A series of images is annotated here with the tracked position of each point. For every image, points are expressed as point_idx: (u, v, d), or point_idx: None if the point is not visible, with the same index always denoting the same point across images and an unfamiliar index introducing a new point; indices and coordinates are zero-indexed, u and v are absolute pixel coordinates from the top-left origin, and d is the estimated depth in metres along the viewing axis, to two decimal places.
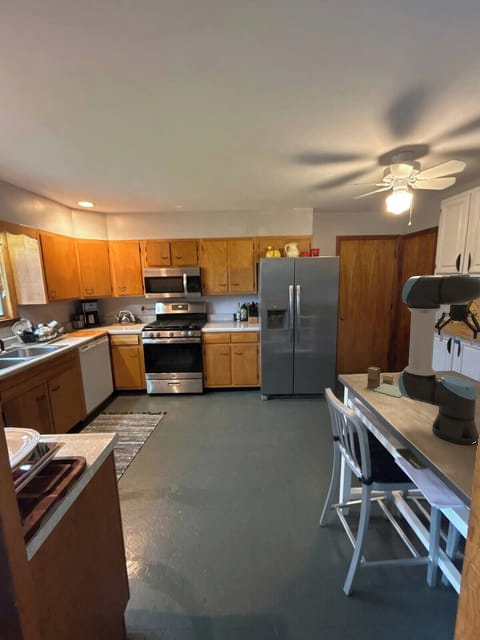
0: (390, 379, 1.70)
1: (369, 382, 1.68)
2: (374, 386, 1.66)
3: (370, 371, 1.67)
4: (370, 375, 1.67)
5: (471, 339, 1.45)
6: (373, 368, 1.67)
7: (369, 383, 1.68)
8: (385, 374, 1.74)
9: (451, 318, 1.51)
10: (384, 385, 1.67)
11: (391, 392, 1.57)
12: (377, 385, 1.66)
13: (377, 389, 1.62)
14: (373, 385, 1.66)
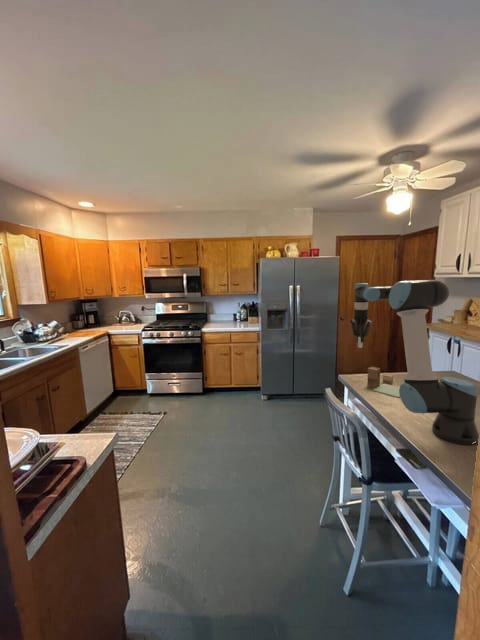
0: (390, 379, 1.70)
1: (369, 382, 1.68)
2: (374, 386, 1.66)
3: (370, 371, 1.67)
4: (370, 375, 1.67)
5: (359, 342, 1.71)
6: (373, 368, 1.67)
7: (369, 383, 1.68)
8: (385, 374, 1.74)
9: (357, 322, 1.70)
10: (384, 385, 1.67)
11: (391, 392, 1.57)
12: (377, 385, 1.66)
13: (377, 389, 1.62)
14: (373, 385, 1.66)
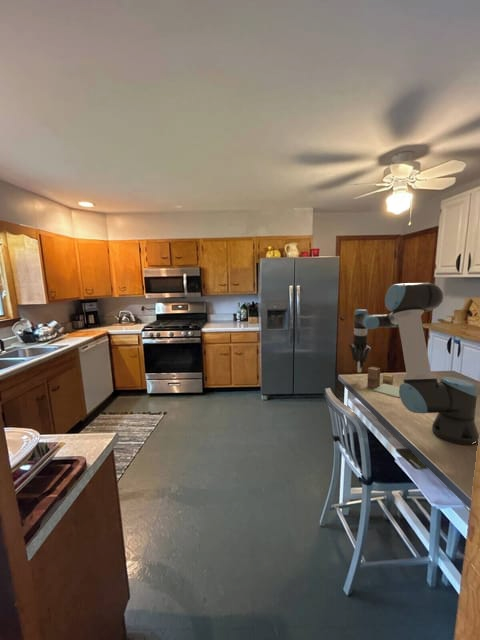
0: (390, 379, 1.70)
1: (369, 382, 1.68)
2: (374, 386, 1.66)
3: (370, 371, 1.67)
4: (370, 375, 1.67)
5: (358, 367, 1.73)
6: (373, 368, 1.67)
7: (369, 383, 1.68)
8: (385, 374, 1.74)
9: (356, 348, 1.73)
10: (384, 385, 1.67)
11: (391, 392, 1.57)
12: (377, 385, 1.66)
13: (377, 389, 1.62)
14: (373, 385, 1.66)
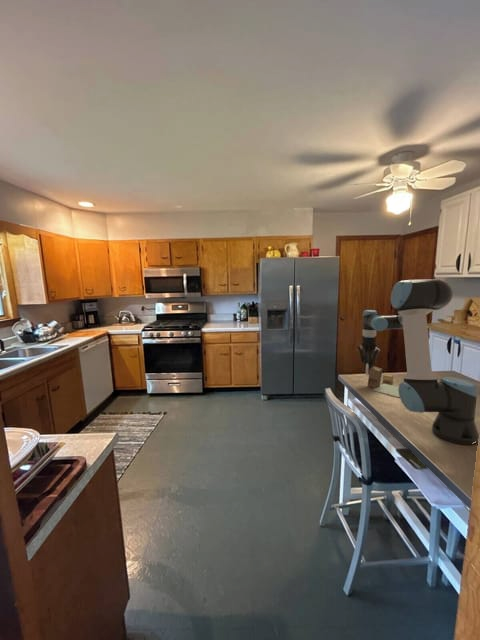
0: (390, 379, 1.70)
1: (369, 381, 1.68)
2: (374, 386, 1.66)
3: (372, 371, 1.66)
4: (371, 375, 1.66)
5: (367, 369, 1.69)
6: (375, 368, 1.66)
7: (369, 382, 1.68)
8: (385, 374, 1.74)
9: (365, 349, 1.68)
10: (384, 385, 1.67)
11: (391, 392, 1.57)
12: (377, 385, 1.66)
13: (377, 389, 1.62)
14: (373, 385, 1.66)
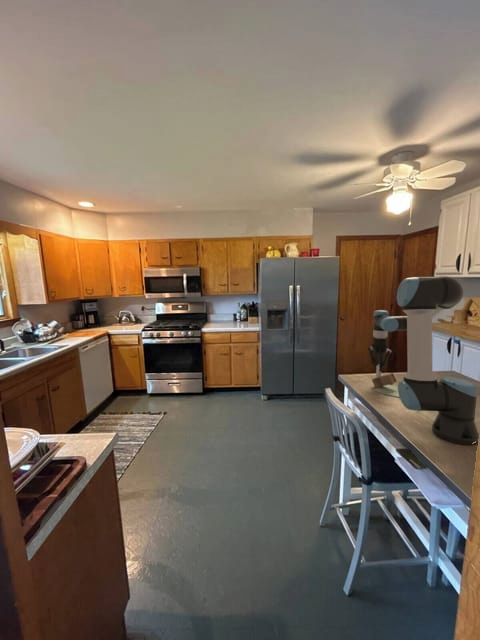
0: None
1: (376, 380, 1.64)
2: (376, 386, 1.65)
3: (387, 377, 1.59)
4: (383, 379, 1.61)
5: (378, 371, 1.64)
6: (392, 378, 1.59)
7: (375, 380, 1.65)
8: (385, 374, 1.74)
9: (376, 351, 1.63)
10: None
11: (391, 392, 1.57)
12: (378, 386, 1.66)
13: (377, 389, 1.62)
14: (376, 385, 1.65)
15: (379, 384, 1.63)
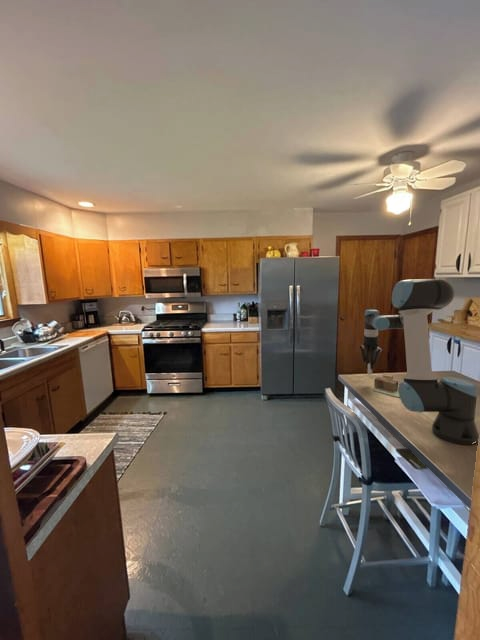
0: (390, 379, 1.70)
1: (378, 381, 1.63)
2: (375, 386, 1.65)
3: (391, 385, 1.58)
4: (386, 384, 1.60)
5: (369, 369, 1.69)
6: (395, 386, 1.58)
7: (377, 381, 1.64)
8: (385, 374, 1.74)
9: (367, 349, 1.68)
10: None
11: (391, 392, 1.57)
12: None
13: (377, 389, 1.62)
14: (376, 385, 1.65)
15: (380, 386, 1.63)
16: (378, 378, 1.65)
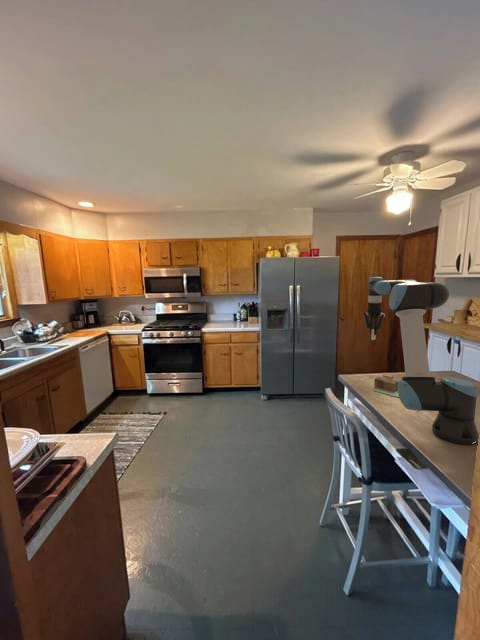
0: (390, 379, 1.70)
1: (378, 381, 1.63)
2: (375, 386, 1.65)
3: (391, 385, 1.58)
4: (386, 384, 1.60)
5: (372, 335, 1.76)
6: (395, 386, 1.58)
7: (377, 381, 1.64)
8: (385, 374, 1.74)
9: (370, 315, 1.75)
10: None
11: (391, 392, 1.57)
12: None
13: (377, 389, 1.62)
14: (376, 385, 1.65)
15: (380, 386, 1.63)
16: (378, 378, 1.65)
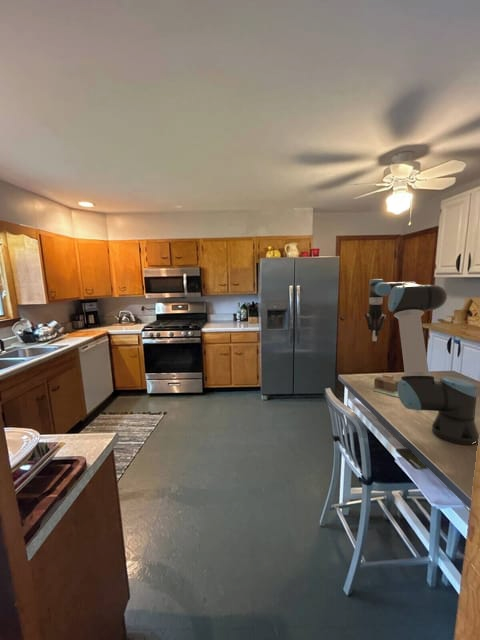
0: (390, 379, 1.70)
1: (378, 381, 1.63)
2: (375, 386, 1.65)
3: (391, 385, 1.58)
4: (386, 384, 1.60)
5: (374, 336, 1.78)
6: (395, 386, 1.58)
7: (377, 381, 1.64)
8: (385, 374, 1.74)
9: (372, 317, 1.77)
10: None
11: (391, 392, 1.57)
12: None
13: (377, 389, 1.62)
14: (376, 385, 1.65)
15: (380, 386, 1.63)
16: (378, 378, 1.65)
